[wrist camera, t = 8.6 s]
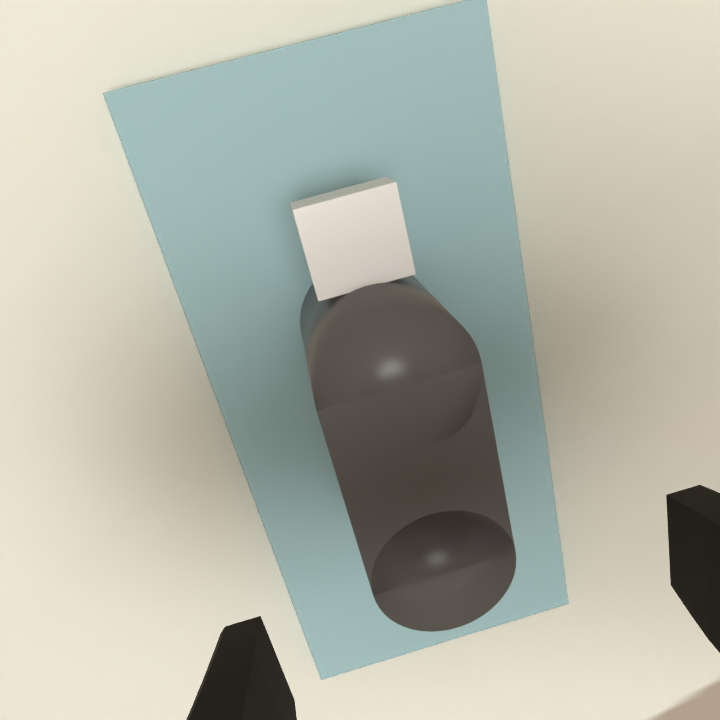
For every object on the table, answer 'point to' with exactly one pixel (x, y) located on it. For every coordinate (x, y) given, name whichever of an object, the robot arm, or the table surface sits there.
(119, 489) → the table surface
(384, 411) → the connector
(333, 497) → the desk mat
